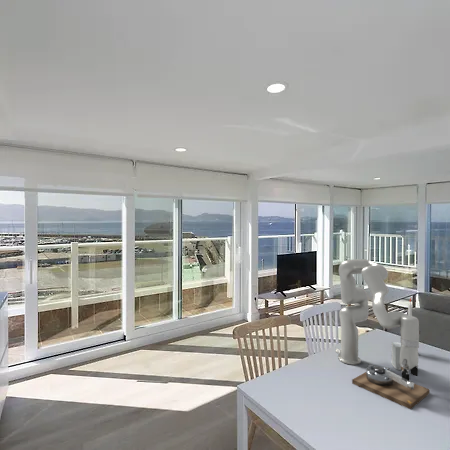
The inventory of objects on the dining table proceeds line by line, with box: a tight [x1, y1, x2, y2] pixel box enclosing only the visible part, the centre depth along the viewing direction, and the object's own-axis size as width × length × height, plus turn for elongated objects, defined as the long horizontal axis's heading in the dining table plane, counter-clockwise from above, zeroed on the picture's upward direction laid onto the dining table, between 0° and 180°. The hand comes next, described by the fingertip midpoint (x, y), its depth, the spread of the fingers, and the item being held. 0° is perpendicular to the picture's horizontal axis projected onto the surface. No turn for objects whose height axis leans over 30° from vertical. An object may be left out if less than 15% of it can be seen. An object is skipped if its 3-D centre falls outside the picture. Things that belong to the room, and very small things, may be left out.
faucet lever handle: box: [365, 364, 415, 390], centre depth 147 cm, size 24×12×7 cm, turn 22°
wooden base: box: [351, 371, 431, 410], centre depth 149 cm, size 27×21×2 cm
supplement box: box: [391, 341, 410, 372], centre depth 171 cm, size 7×7×13 cm
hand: (409, 378), depth 145 cm, fingers open, 9 cm apart
